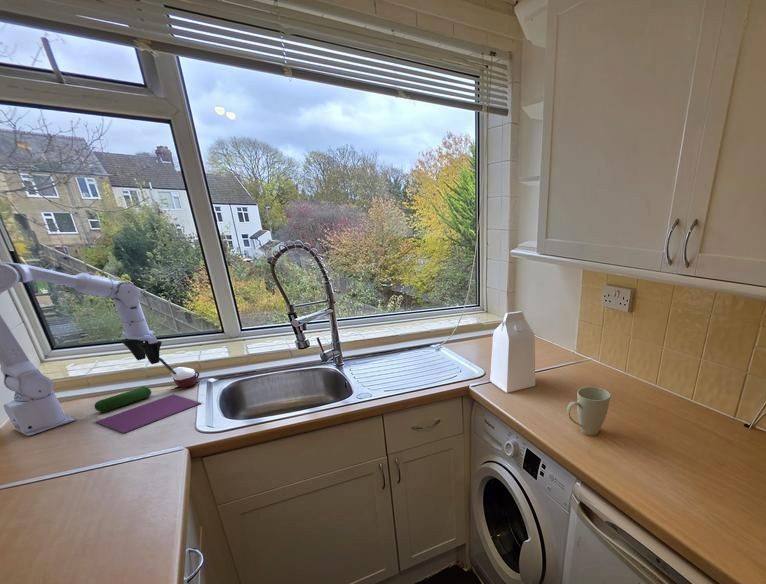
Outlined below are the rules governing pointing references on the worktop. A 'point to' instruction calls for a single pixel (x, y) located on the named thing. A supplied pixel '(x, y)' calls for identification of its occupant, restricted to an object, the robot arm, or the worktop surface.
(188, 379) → the cocoa
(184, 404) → the towel
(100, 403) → the cucumber
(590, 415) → the mug
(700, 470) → the worktop surface
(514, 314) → the milk
